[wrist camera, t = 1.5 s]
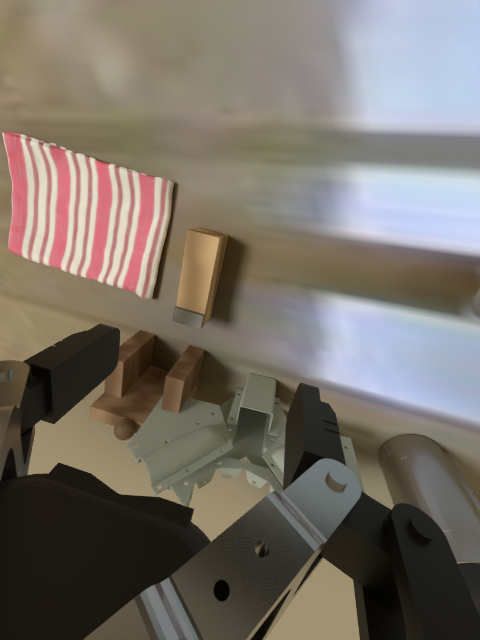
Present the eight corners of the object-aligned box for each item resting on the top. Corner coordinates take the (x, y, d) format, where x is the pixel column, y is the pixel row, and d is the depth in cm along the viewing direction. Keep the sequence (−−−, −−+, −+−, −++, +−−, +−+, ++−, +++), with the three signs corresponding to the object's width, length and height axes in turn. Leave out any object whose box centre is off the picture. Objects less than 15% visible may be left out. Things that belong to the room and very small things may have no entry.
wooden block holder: (204, 349, 44) (167, 406, 31) (196, 391, 47) (159, 458, 35) (140, 330, 45) (78, 377, 32) (136, 372, 48) (78, 430, 35)
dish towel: (19, 131, 38) (-6, 124, 35) (179, 181, 36) (167, 178, 33) (23, 253, 45) (2, 256, 41) (158, 299, 43) (147, 306, 40)
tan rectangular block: (228, 234, 37) (218, 238, 32) (212, 315, 42) (200, 329, 37) (200, 227, 38) (185, 229, 33) (187, 307, 42) (172, 320, 37)
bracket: (176, 392, 48) (104, 503, 30) (179, 356, 45) (102, 455, 27) (337, 432, 45) (368, 583, 27) (350, 397, 42) (395, 538, 24)
